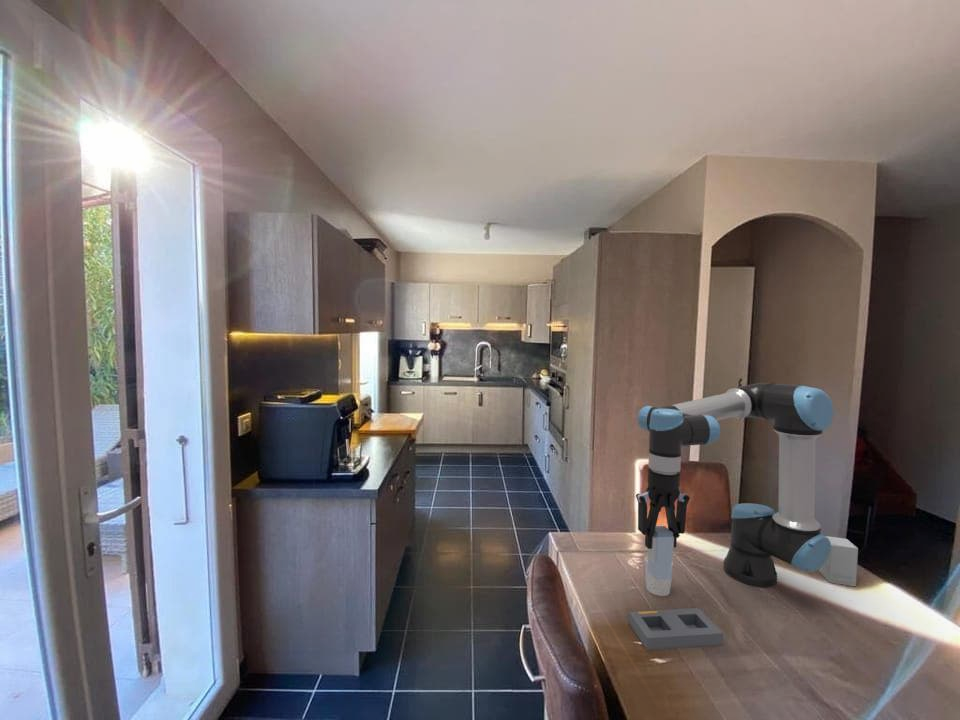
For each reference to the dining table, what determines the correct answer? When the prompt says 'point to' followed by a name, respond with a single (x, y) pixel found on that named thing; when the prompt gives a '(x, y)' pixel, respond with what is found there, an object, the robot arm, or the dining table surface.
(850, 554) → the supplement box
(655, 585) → the white cup
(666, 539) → the plug
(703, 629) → the panel
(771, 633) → the dining table surface
